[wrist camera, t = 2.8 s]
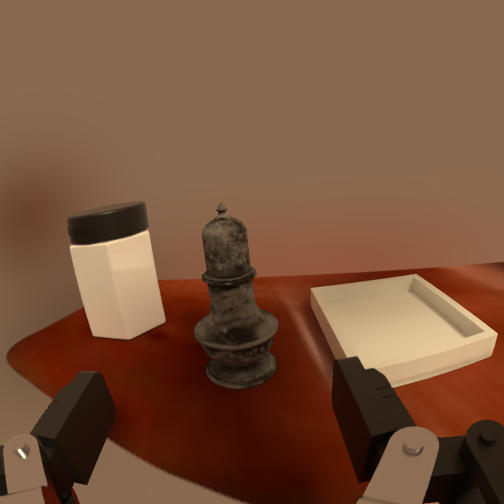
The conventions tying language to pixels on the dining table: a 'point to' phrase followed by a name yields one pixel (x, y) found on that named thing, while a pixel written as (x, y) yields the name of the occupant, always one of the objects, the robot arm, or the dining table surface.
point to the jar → (116, 270)
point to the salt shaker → (233, 310)
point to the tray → (400, 327)
